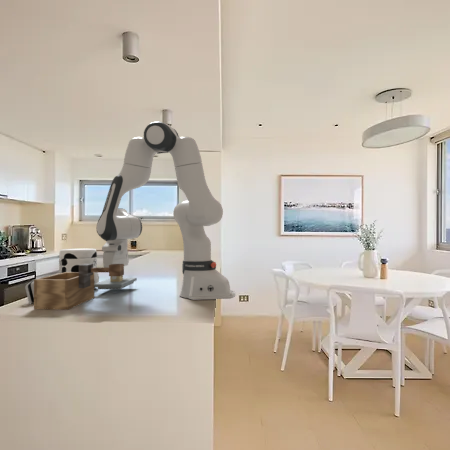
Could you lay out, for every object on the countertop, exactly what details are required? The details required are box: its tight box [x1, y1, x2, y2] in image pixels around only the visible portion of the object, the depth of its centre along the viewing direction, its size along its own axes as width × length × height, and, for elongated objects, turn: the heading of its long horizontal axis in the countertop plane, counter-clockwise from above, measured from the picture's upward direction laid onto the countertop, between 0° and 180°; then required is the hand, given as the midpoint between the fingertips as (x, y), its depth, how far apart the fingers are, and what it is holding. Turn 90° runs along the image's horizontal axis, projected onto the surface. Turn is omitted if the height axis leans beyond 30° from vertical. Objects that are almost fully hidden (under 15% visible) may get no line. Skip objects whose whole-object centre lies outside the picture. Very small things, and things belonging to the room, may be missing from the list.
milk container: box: [57, 247, 100, 289], centre depth 157 cm, size 17×17×18 cm
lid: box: [94, 275, 137, 290], centre depth 153 cm, size 11×19×6 cm, turn 176°
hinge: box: [24, 275, 48, 305], centre depth 137 cm, size 17×5×10 cm, turn 175°
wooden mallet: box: [91, 264, 125, 277], centre depth 129 cm, size 11×4×4 cm, turn 86°
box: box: [33, 264, 95, 311], centre depth 130 cm, size 15×20×14 cm
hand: (116, 278), depth 153 cm, fingers closed on lid, 4 cm apart
